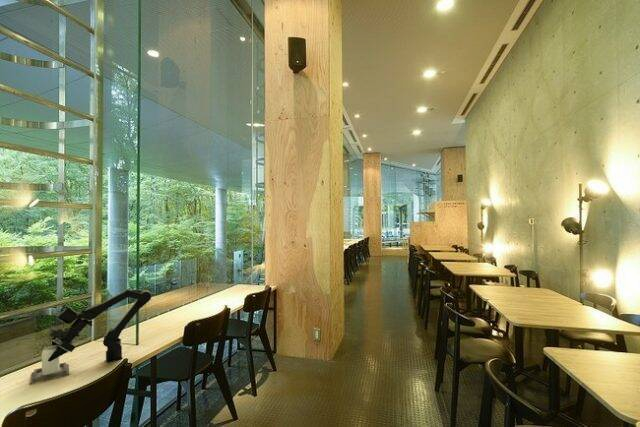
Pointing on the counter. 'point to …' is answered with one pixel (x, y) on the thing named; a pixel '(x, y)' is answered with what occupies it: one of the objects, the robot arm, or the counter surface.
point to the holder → (38, 376)
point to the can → (52, 365)
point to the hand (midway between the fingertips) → (46, 359)
